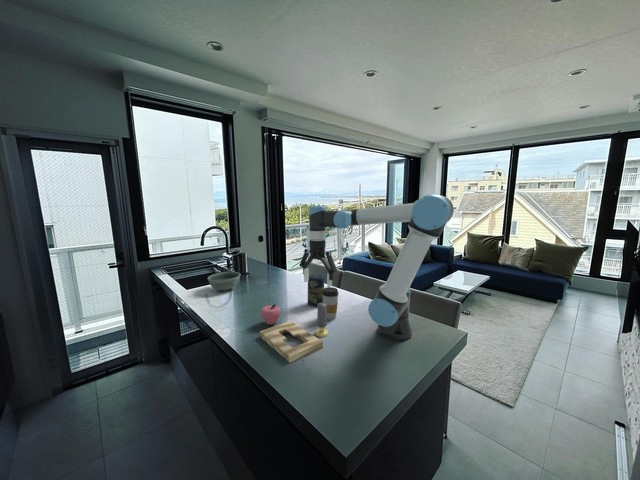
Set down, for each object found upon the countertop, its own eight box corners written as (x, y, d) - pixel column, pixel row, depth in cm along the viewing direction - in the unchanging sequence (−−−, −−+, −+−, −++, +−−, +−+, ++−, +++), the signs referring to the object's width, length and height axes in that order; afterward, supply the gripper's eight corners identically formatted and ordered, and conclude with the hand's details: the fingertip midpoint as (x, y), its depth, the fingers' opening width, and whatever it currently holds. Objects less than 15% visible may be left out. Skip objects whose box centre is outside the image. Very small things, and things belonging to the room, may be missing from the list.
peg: (331, 334, 118) (331, 304, 116) (320, 338, 114) (321, 308, 112) (322, 329, 123) (322, 300, 121) (312, 333, 119) (312, 303, 117)
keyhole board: (322, 347, 107) (322, 341, 107) (289, 362, 97) (289, 356, 97) (290, 326, 126) (290, 320, 125) (260, 336, 116) (259, 331, 115)
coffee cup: (337, 321, 130) (337, 293, 128) (320, 320, 132) (320, 291, 130) (339, 314, 138) (339, 287, 136) (323, 313, 140) (323, 286, 138)
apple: (274, 317, 134) (273, 299, 133) (284, 323, 128) (284, 304, 127) (258, 323, 128) (257, 304, 126) (267, 330, 122) (267, 309, 120)
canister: (304, 306, 149) (304, 275, 147) (311, 300, 158) (311, 271, 155) (320, 308, 146) (320, 277, 143) (326, 302, 155) (326, 273, 152)
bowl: (235, 295, 166) (234, 280, 164) (202, 295, 166) (201, 279, 164) (245, 284, 186) (244, 271, 185) (215, 284, 186) (215, 271, 185)
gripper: (344, 240, 117) (344, 286, 120) (301, 236, 131) (302, 277, 134) (335, 243, 111) (335, 291, 114) (291, 238, 125) (292, 281, 128)
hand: (317, 283), depth 124 cm, fingers open, 13 cm apart
